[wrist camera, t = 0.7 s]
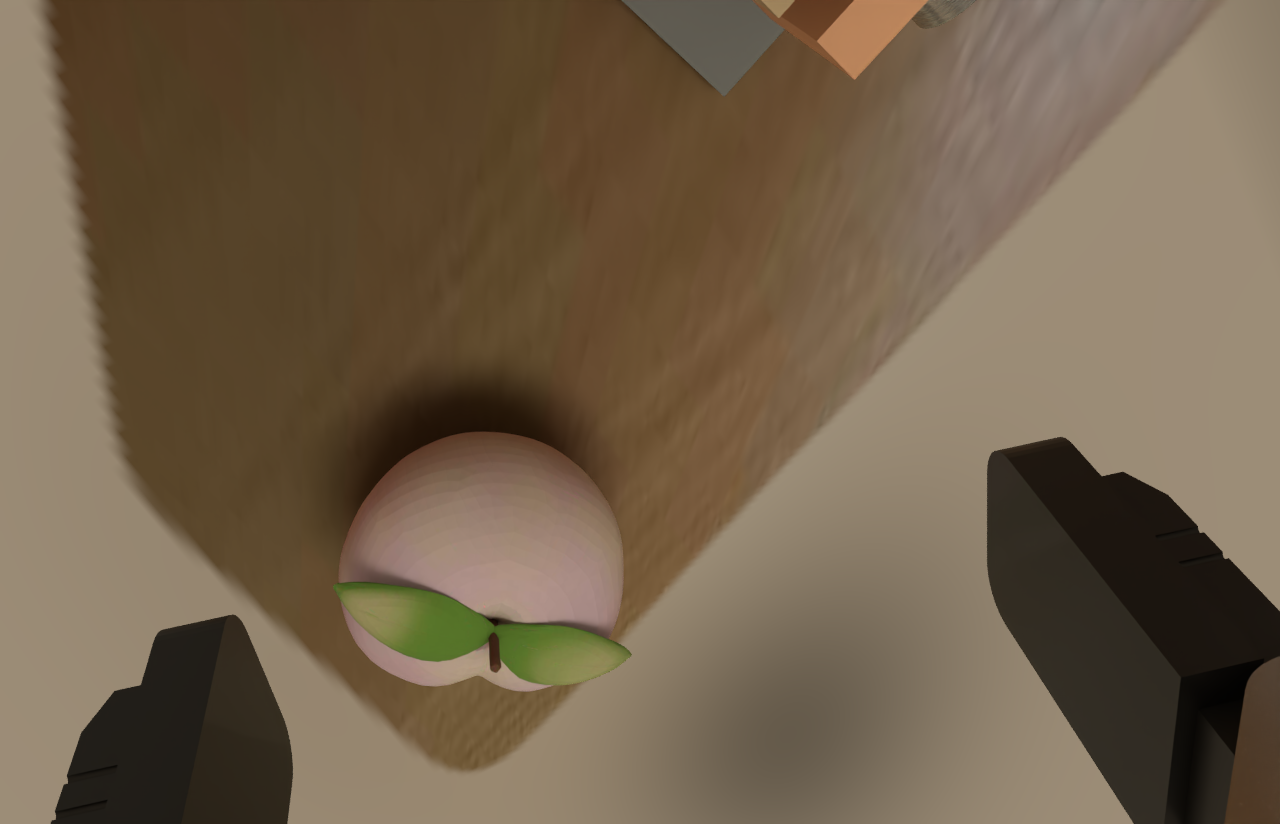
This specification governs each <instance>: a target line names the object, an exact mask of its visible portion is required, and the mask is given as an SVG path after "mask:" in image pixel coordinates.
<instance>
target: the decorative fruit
mask: <svg viewBox="0 0 1280 824" xmlns="http://www.w3.org/2000/svg"><path fill="white" fill-rule="evenodd" d="M333 587H334V590H335V591H336V593H337V594H338V596H339V598H340V600H341V604H342V609H343V613H344V616H345V619H346V622H347V625H348V628H349V630H350V632H351V634H352V636H353V638H354V640H355V642H356V643H357V645H358V646H359V647H360V648H361V650H362V651H363V652H364V653H365V654H366V655H367V656H368V658H369V659H370V660H371V661H373V662H374V663H375V664H377V665H378V666H379V667H381V668H382V669H384V670H386V671H387V672H389V673H391V674H393V675H395V676H397V677H400V678H402V679H404V680H406V681H409V682H413V683H416V684H420V685H423V686H442V685H450V684H453V683H456V682H459V681H462V680H465V679H468V678H470V677H473V676H477V675H479V676H481V677H484V678H485V679H487V680H488V681H490V682H492V683H494V684H496V685H498V686H500V687H503V688H506V689H510V690H514V691H534V690H539V689H543V688H546V687H550V686H553V685H568V684H575V683H579V682H584V681H587V680H590V679H593V678H596V677H598V676H601V675H603V674H605V673H607V672H610V671H611V670H613V669H615V668H617V667H618V666H619V665H621V664H622V663H623V662H624V661H626V659H628V658H629V657H630V656H631V655H632V654H631V653H630V652H629V650H627V649H626V648H625V647H624V646H622V645H620V644H618V643H616V642H614V641H612V640H609V637H610V635H611V633H612V630H613V628H614V626H615V623H616V620H617V617H618V614H619V610H620V605H621V600H622V593H623V549H622V541H621V536H620V531H619V527H618V524H617V521H616V519H615V516H614V514H613V512H612V510H611V508H610V506H609V504H608V502H607V500H606V499H605V497H604V496H603V494H602V492H601V491H600V490H599V488H598V487H597V485H596V484H595V483H594V482H593V480H592V479H591V478H590V477H589V476H588V475H587V474H586V473H585V472H584V471H583V470H582V469H581V468H580V467H579V466H578V465H577V464H575V463H574V462H573V461H572V460H570V459H569V458H568V457H566V456H565V455H564V454H562V453H561V452H559V451H558V450H556V449H554V448H553V447H551V446H549V445H547V444H545V443H542V442H540V441H537V440H534V439H531V438H527V437H524V436H519V435H514V434H508V433H500V432H468V433H460V434H456V435H451V436H447V437H445V438H442V439H439V440H436V441H434V442H432V443H430V444H427V445H425V446H423V447H421V448H419V449H417V450H416V451H414V452H412V453H410V454H409V455H407V456H406V457H404V458H403V459H402V460H400V461H399V462H398V463H397V464H396V465H395V466H394V467H392V468H391V469H390V470H389V471H388V472H387V473H386V474H385V475H384V476H383V477H382V479H381V480H380V481H379V482H378V483H377V484H376V486H375V487H374V488H373V489H372V491H371V492H370V493H369V495H368V496H367V497H366V499H365V500H364V502H363V504H362V505H361V507H360V508H359V510H358V512H357V514H356V516H355V518H354V520H353V522H352V524H351V527H350V529H349V531H348V534H347V537H346V540H345V542H344V545H343V549H342V553H341V558H340V564H339V583H337V584H335V585H333Z"/></svg>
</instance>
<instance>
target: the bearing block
mask: <svg viewBox="0 0 1280 824" xmlns="http://www.w3.org/2000/svg"><path fill="white" fill-rule="evenodd" d="M754 1H755V2H757V3H758V4H760V5H761V6H762V7H764V8H765V9H767V10H768V11H769V12H771V13H772V14H774V15H775V16H776V17H778V18H780V17H781V16H782V14H783V13H784V12H785V11H786V10H787V9H788V8H789V7H790V5H791V4H792V3H793V2H794V1H795V0H754Z"/></svg>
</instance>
